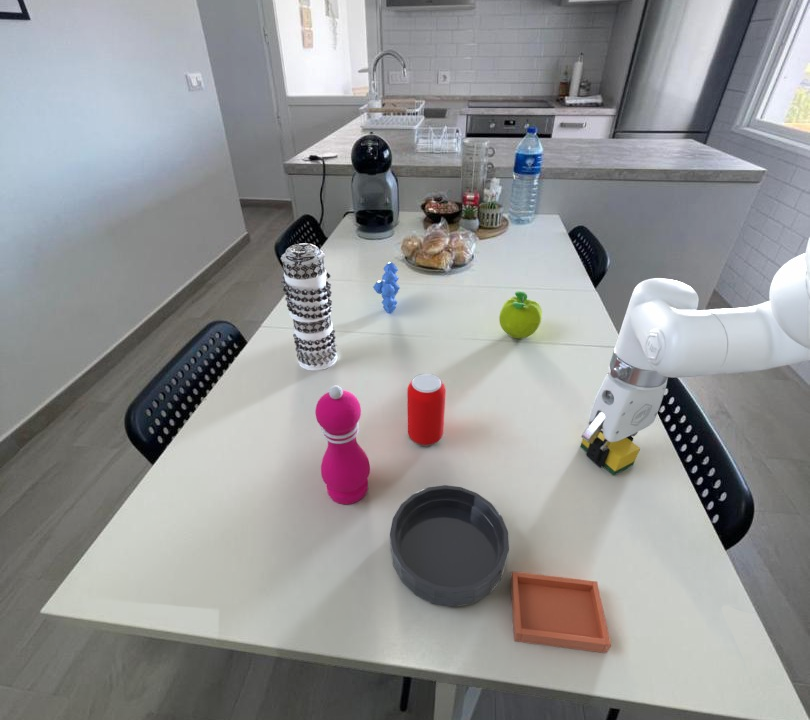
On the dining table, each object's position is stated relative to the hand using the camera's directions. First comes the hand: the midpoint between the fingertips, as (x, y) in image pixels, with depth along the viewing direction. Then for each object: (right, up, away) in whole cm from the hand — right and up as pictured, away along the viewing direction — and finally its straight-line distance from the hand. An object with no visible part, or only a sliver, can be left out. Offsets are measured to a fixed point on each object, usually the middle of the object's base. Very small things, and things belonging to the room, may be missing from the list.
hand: (606, 454), depth 73 cm
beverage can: (-30, +2, +4) cm, 30 cm away
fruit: (-7, +21, +30) cm, 38 cm away
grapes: (-38, +29, +41) cm, 63 cm away
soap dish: (-15, -15, -20) cm, 29 cm away
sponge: (0, 0, 0) cm, 0 cm away
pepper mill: (-42, -4, -5) cm, 42 cm away
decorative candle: (-52, +16, +23) cm, 59 cm away
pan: (-27, -10, -13) cm, 32 cm away
